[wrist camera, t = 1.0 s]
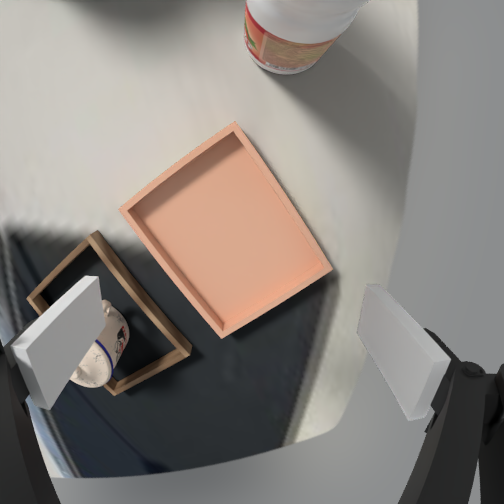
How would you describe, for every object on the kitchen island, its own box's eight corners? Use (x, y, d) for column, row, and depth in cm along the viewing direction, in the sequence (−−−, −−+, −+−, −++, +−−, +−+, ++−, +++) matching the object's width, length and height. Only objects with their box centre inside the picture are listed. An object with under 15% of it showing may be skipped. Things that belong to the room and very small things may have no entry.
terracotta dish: (126, 205, 37) (118, 209, 34) (235, 123, 34) (235, 121, 32) (222, 327, 42) (221, 338, 40) (327, 261, 40) (333, 269, 37)
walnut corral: (34, 292, 40) (26, 298, 38) (97, 230, 37) (90, 234, 35) (118, 386, 45) (114, 395, 43) (192, 345, 43) (190, 355, 41)
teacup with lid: (121, 360, 44) (97, 411, 33) (72, 333, 42) (38, 377, 31) (146, 302, 41) (119, 350, 30) (90, 271, 39) (48, 309, 28)
